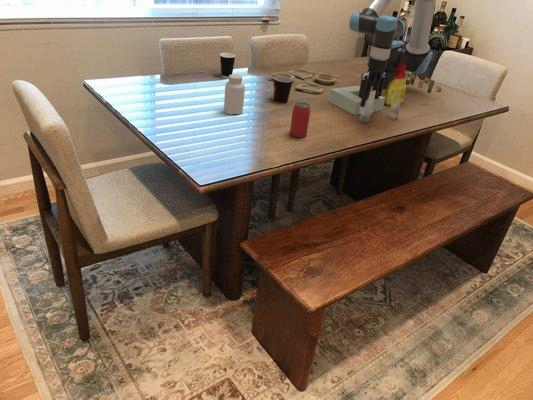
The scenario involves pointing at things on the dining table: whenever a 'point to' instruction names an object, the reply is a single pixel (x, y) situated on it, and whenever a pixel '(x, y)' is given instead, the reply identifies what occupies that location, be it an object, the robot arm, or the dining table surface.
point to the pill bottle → (234, 94)
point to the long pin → (368, 106)
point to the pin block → (351, 99)
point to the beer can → (300, 119)
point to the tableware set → (309, 86)
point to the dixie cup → (227, 64)
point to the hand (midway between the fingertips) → (365, 113)
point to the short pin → (394, 110)
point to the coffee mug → (282, 88)
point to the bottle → (396, 86)
